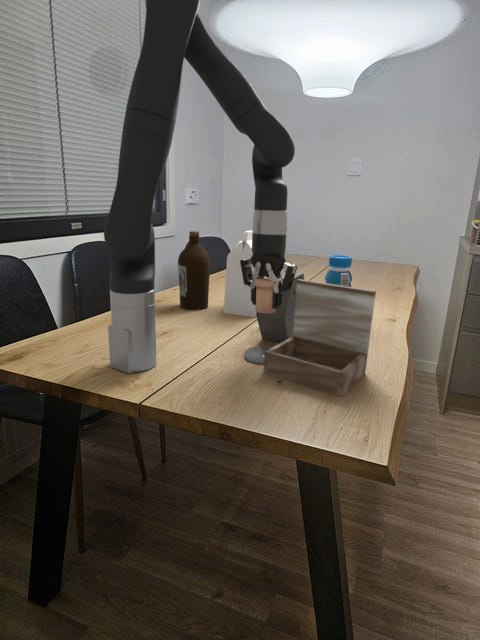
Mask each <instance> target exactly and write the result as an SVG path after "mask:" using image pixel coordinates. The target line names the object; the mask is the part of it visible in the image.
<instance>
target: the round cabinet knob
mask: <svg viewBox="0 0 480 640" xmlns="http://www.w3.org/2000/svg"><path fill="white" fill-rule="evenodd" d="M254 285H255V286H256V309H255V310H256V311H257V312H259V313H274V312H276V309H273V308H272V305H273V293H275V292H274V289H273V288H274V283H273V282H272V281H270V278H267V277H265V276H264V277H261V278H258V279H255V280H254ZM278 285H279V282H278Z"/></svg>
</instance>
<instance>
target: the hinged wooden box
mask: <svg viewBox="0 0 480 640" xmlns="http://www.w3.org/2000/svg"><path fill="white" fill-rule="evenodd" d="M376 295H377V290H371V289H367V288H366V289H364V288H359V287H358V288H357V287H353V286H352V287H347V286H340V285H334V284H327V283H325V282H320V281H314V280H313V281H312V280H307V279H304V280H302V279H298V280H297V289H296V302H295V315H294V329H293V336H292V337H291V338H289V339H287V340H285V341H283V342H279V343H278V344H276V345H274V346H272V347H269V348H270V349H269V350H267V351H265V352H264V364H263V370H262V371H263V374H265V375H269V376H272V377H276V378H279V379H282V380H285V381H289V382H292V383H294V384H298V385H302V386H306V387H308V388H312V389H315V390H318V391H320V392H321V391H322V392H324V393H327V394H332V395H335V396H338V397H341V398H342V397H343V396H344V395H345V394H346V393H347V392H349V390H350V389H352V388H353V386H354V385H355V384H356V383H357V382H358V381H359V380H360V379H362V377H363V376H364V375H365V374H366V371H367V370H366V369H367V361H368V356H369V346H370V341H371V340H370V339H371V331H372V324H373V317H374V316H373V315H374V310H375V309H374V308H375V301H376Z"/></svg>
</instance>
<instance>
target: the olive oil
mask: <svg viewBox="0 0 480 640" xmlns="http://www.w3.org/2000/svg"><path fill="white" fill-rule="evenodd" d="M188 233H189V236H188V244H187V245H186V246H185V247H184V249H183V250H182V251H181V252H180V253H179V256H178V258H177V269H178V270H177V271H178V272H177V273H178V286H179V306H180V309H183V310H186V311H202V310H205V309H207V308H208V307H209V293H210V278H211V277H210V274H211V273H210V272H211V258H210V254H209V253H208V252H207V251H206V249H205V248H204V247H203V246H202V245H201V243H200V240H201V239H200V238H201V237H200V231H198V230H197V231H196V230H194V231H193V230H192V231H191V230H190V231H189V232H188Z"/></svg>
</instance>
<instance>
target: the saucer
mask: <svg viewBox="0 0 480 640" xmlns="http://www.w3.org/2000/svg"><path fill="white" fill-rule="evenodd" d="M270 348H271V347H263V346H258V347H257V346H255V347H250V348H248V349H246V350H244V352H243V357H244V358H243V359H245V360H246V361H248V362H249V363H250V362H251V363H254V364H257V365H258V364H259V365H264V352H265V351H267V350H269V349H270Z"/></svg>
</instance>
